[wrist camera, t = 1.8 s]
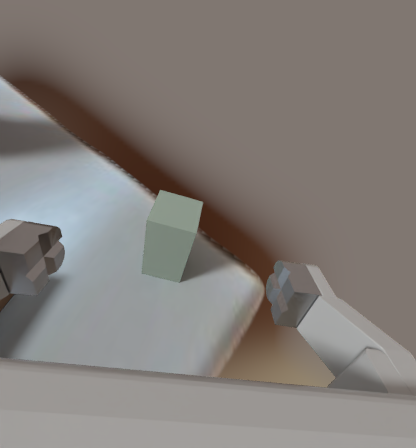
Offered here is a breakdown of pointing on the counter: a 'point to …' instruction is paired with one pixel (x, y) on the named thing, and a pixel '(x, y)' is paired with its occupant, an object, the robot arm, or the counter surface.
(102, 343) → the counter surface
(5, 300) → the build plinth
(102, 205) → the counter surface
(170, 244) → the pillar block
